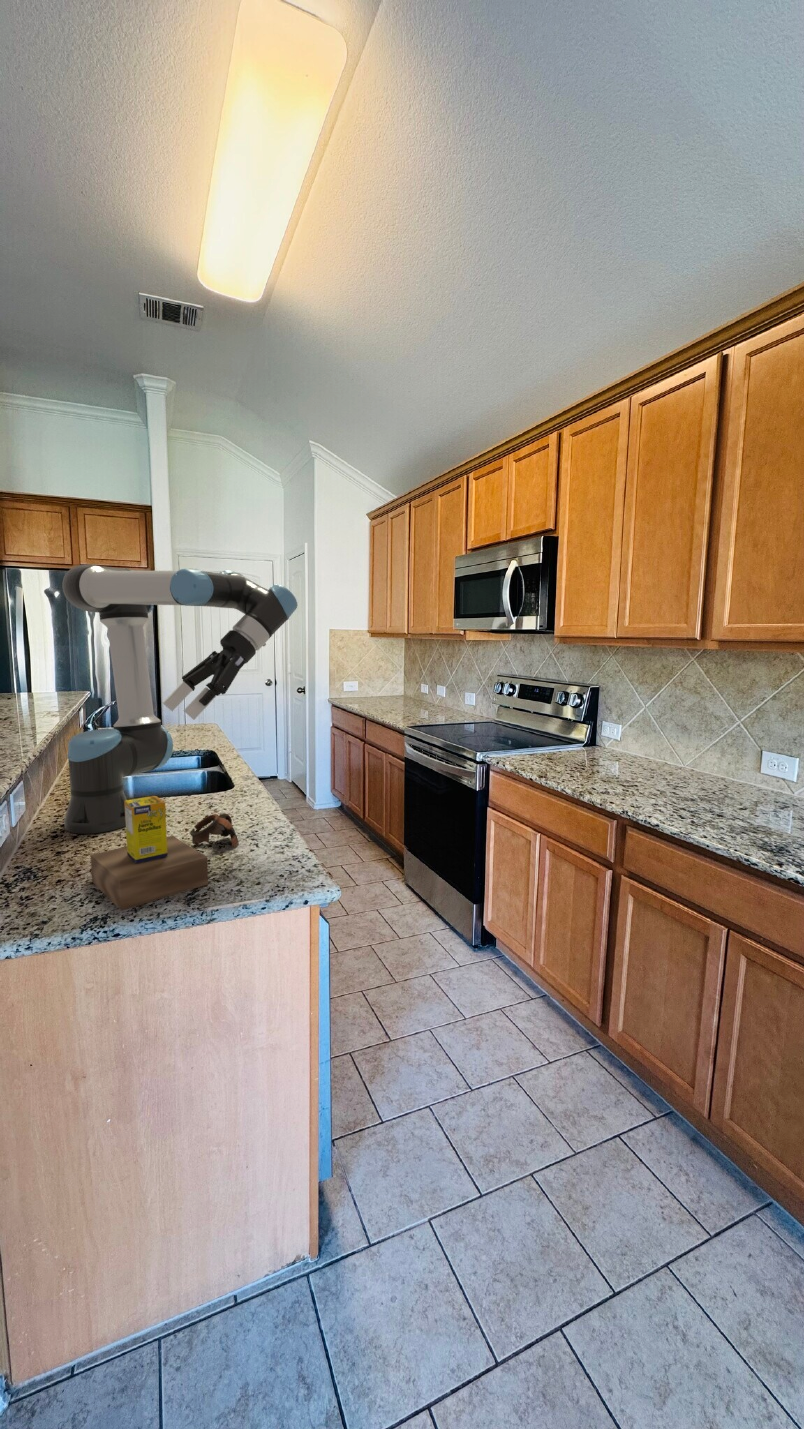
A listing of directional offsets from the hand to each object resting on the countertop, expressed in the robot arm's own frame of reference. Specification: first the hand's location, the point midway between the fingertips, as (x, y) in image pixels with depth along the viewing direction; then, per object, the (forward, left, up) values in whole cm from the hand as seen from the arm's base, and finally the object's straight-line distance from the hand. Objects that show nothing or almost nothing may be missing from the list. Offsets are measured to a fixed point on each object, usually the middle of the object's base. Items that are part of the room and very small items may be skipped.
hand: (177, 711), depth 121 cm
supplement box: (+11, -10, -26) cm, 30 cm away
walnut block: (+11, -10, -32) cm, 35 cm away
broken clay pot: (-1, +8, -32) cm, 33 cm away
